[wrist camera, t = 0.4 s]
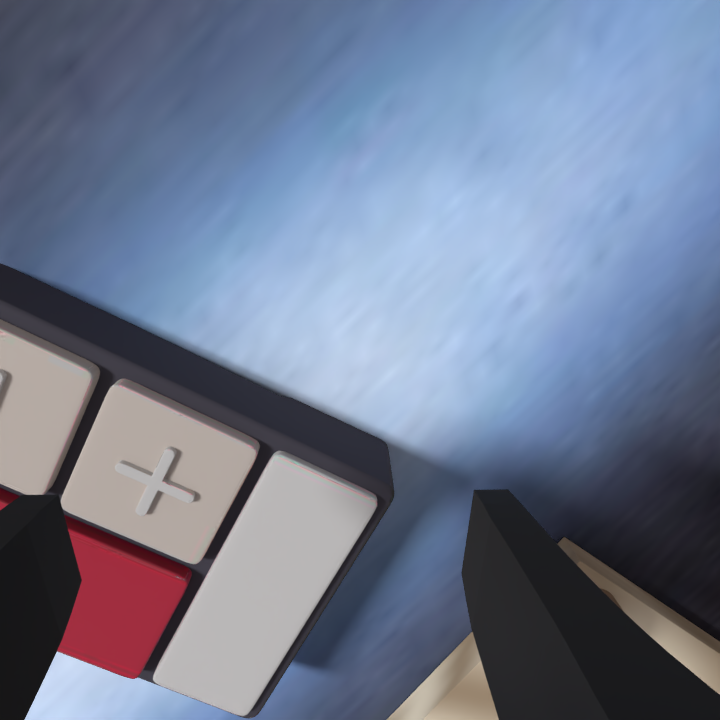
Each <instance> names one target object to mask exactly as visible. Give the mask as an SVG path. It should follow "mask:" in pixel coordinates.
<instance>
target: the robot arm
mask: <svg viewBox="0 0 720 720" xmlns="http://www.w3.org/2000/svg"><path fill="white" fill-rule="evenodd" d="M462 578H463V584H464V590H465V596H466V602H467V607H468V612H469V617H470V623H471V628H472V632H473V635H474V639H475V642H476V645H477V649H478V652H479V656H480V659H481V662H482V666H483V669H484V672H485V676H486V679H487V682H488V686H489V689H490V692H491V695H492V699H493V702H494V705H495V709H496V712H497V715H498V718H499V720H720V694H718V693H717V692H716V691H715V690H713V689H712V688H711V687H710V686H708V685H707V684H706V683H705V682H704V681H702V680H701V679H700V678H699V677H698V676H696V675H695V674H694V673H693V672H692V671H690V670H689V669H688V668H687V667H686V666H684V665H683V664H682V663H681V662H679V661H678V660H677V659H676V658H675V657H673V656H672V655H671V654H670V653H669V652H667V651H666V650H665V649H664V648H663V647H662V646H661V645H659V644H658V643H657V642H656V641H655V640H654V639H653V638H652V637H650V636H649V635H648V634H647V633H646V632H645V631H644V630H643V629H642V628H641V627H640V626H638V625H637V624H636V623H635V622H634V621H633V620H632V619H631V618H630V617H629V616H628V615H627V614H626V613H625V612H623V611H622V610H621V609H620V608H619V607H618V606H617V605H616V604H615V603H614V602H613V601H612V600H611V599H610V598H609V597H608V596H607V595H606V594H605V593H604V592H603V591H602V590H601V589H600V588H599V587H598V586H597V585H596V584H595V583H594V582H593V581H592V580H591V579H590V578H589V577H588V576H587V575H586V574H585V573H584V572H583V571H582V570H581V569H580V568H579V567H578V566H577V564H576V563H575V562H574V561H573V560H572V559H571V558H570V557H569V556H568V555H567V554H566V553H565V552H564V551H563V550H562V549H561V548H560V546H559V545H558V544H557V543H556V542H555V541H554V540H553V539H552V538H551V537H550V535H549V534H548V533H547V532H546V531H545V530H544V529H543V528H542V527H541V526H540V524H539V523H538V522H537V521H536V520H535V519H534V518H533V517H532V515H531V514H530V513H529V512H528V511H527V510H526V509H525V508H524V507H523V505H522V504H521V503H520V502H519V501H518V500H517V499H516V498H515V497H514V496H513V494H512V493H511V492H510V491H509V490H474V494H473V501H472V507H471V514H470V521H469V527H468V534H467V540H466V547H465V554H464V560H463V567H462ZM81 582H82V579H81V575H80V571H79V568H78V564H77V560H76V557H75V553H74V549H73V546H72V542H71V538H70V535H69V531H68V527H67V524H66V520H65V516H64V513H63V509H62V505H61V502H60V498H59V494H55V495H21V496H20V497H18V498H17V499H15V500H14V501H13V502H11V503H10V504H8V505H7V506H6V507H4V508H3V509H1V510H0V720H24V719H25V717H26V715H27V713H28V711H29V709H30V707H31V705H32V703H33V701H34V699H35V696H36V694H37V692H38V690H39V688H40V686H41V684H42V682H43V680H44V678H45V675H46V673H47V671H48V669H49V667H50V665H51V663H52V661H53V658H54V656H55V654H56V652H57V650H58V648H59V645H60V643H61V641H62V639H63V636H64V633H65V630H66V627H67V624H68V622H69V619H70V616H71V613H72V610H73V607H74V604H75V601H76V597H77V594H78V591H79V588H80V585H81Z"/></svg>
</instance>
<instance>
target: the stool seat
mask: <svg viewBox="0 0 720 720" xmlns="http://www.w3.org/2000/svg"><path fill="white" fill-rule="evenodd" d="M558 545H559V546H560V548H561V549H562V550H563V551H564V552H565V553H566V554H567V555H568V556H569V557H570V558H571V559H572V560H573V561H574V562H575V563H576V564H577V566H578V567H579V568H580V569H581V570H582V571H583V572H584V573H585V574H586V575H587V576H588V577H589V578H590V579H591V580H592V581H593V582H594V583H595V584H596V585H597V586H598V587H599V588H600V589H601V590H602V591H603V592H604V593H605V594H606V595H607V596H608V597H609V598H610V599H611V600H612V601H613V602H614V603H615V604H616V605H617V606H618V607H619V608H620V609H621V610H622V611H623V612H625V613H626V614H627V615H628V616H629V617H630V618H631V619H632V620H633V621H634V622H635V623H636V624H637V625H638V626H640V627H641V628H642V629H643V630H644V631H645V632H646V633H647V634H648V635H649V636H650V637H652V638H653V639H654V640H655V641H656V642H657V643H658V644H659V645H661V646H662V647H663V648H664V649H665V650H666V651H667V652H669V653H670V654H671V655H672V656H673V657H675V658H676V659H677V660H678V661H679V662H681V663H682V664H683V665H684V666H686V667H687V668H688V669H689V670H690V671H692V672H693V673H694V674H695V675H696V676H698V677H699V678H700V679H701V680H702V681H704V682H705V683H706V684H707V685H708V686H710V687H711V688H712V689H713V690H715V691H716V692H717V693H718V694H720V642H719V641H718V640H716V639H715V638H714V637H712V636H711V635H709V634H708V633H706V632H705V631H703V630H702V629H700V628H699V627H697V626H696V625H694V624H693V623H691V622H690V621H688V620H687V619H685V618H684V617H682V616H681V615H679V614H678V613H676V612H675V611H673V610H672V609H671V608H669V607H668V606H666V605H665V604H663V603H662V602H660V601H659V600H657V599H656V598H654V597H653V596H651V595H650V594H648V593H647V592H645V591H644V590H642V589H641V588H639V587H638V586H636V585H635V584H633V583H632V582H630V581H629V580H628V579H626V578H625V577H623V576H622V575H620V574H619V573H617V572H616V571H614V570H613V569H611V568H610V567H608V566H607V565H605V564H604V563H602V562H601V561H599V560H598V559H596V558H595V557H593V556H592V555H590V554H589V553H588V552H586V551H585V550H583V549H582V548H580V547H579V546H577V545H576V544H574V543H573V542H571V541H570V540H568V539H567V538H565V537H563V538H562V539H561V541H560V542H559V543H558ZM387 720H499V718H498V715H497V712H496V709H495V705H494V702H493V699H492V695H491V692H490V689H489V686H488V682H487V679H486V676H485V672H484V669H483V666H482V662H481V659H480V656H479V652H478V649H477V645H476V642H475V639H474V635H473V632H471V633H470V634H469V635H468V636H467V637H466V638H465V640H464V641H463V642H462V643H461V644H460V645H459V646H458V647H457V648H456V649H455V650H454V651H453V652H452V653H451V654H450V655H449V656H448V657H447V658H446V659H445V660H444V661H443V662H442V663H441V664H440V665H439V666H438V667H437V668H436V669H435V670H434V672H433V673H432V674H431V675H430V676H429V677H428V678H427V679H426V680H425V681H424V682H423V683H422V684H421V685H420V686H419V687H418V688H417V689H416V690H415V691H414V692H413V693H412V694H411V695H410V696H409V697H408V698H407V699H406V700H405V701H404V702H403V703H402V705H401V706H400V707H399V708H398V709H397V710H396V711H395V712H394V713H393V714H392V715H391V716H390V717H389V718H388V719H387Z"/></svg>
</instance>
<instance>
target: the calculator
mask: <svg viewBox="0 0 720 720" xmlns="http://www.w3.org/2000/svg"><path fill="white" fill-rule="evenodd" d="M55 494H59V498H60V502H61V505H62V509H63V513H64V516H65V520H66V524H67V527H68V531H69V535H70V538H71V542H72V546H73V549H74V553H75V557H76V560H77V564H78V568H79V571H80V575H81V579H82V582H81V585H80V588H79V591H78V594H77V597H76V601H75V604H74V607H73V610H72V613H71V616H70V619H69V622H68V624H67V627H66V630H65V633H64V636H63V639H62V641H61V643H60V645H59V648H58V650H57V651H58V652H60V653H63V654H66V655H68V656H71V657H74V658H76V659H79V660H81V661H84V662H87V663H89V664H92V665H95V666H97V667H100V668H102V669H105V670H108V671H110V672H113V673H116V674H118V675H121V676H124V677H127V678H131V679H135V678H137V677H138V678H141V679H144V680H146V681H149V682H151V683H154V684H157V685H159V686H162V687H164V688H167V689H170V690H172V691H175V692H178V693H180V694H183V695H185V696H188V697H191V698H193V699H196V700H198V701H201V702H204V703H206V704H209V705H212V706H214V707H217V708H219V709H222V710H225V711H227V712H230V713H232V714H235V715H238V716H240V717H243V718H252V717H255V716H256V715H258V713H259V712H260V711H261V709H262V708H263V706H264V705H265V703H266V701H267V700H268V698H269V697H270V695H271V693H272V692H273V690H274V689H275V687H276V686H277V684H278V682H279V681H280V679H281V678H282V676H283V674H284V673H285V671H286V670H287V668H288V666H289V665H290V663H291V662H292V660H293V658H294V657H295V655H296V654H297V652H298V651H299V649H300V647H301V646H302V644H303V643H304V641H305V639H306V638H307V636H308V635H309V633H310V631H311V630H312V628H313V627H314V625H315V623H316V622H317V620H318V619H319V617H320V616H321V614H322V612H323V611H324V609H325V608H326V606H327V604H328V603H329V601H330V600H331V598H332V596H333V595H334V593H335V592H336V590H337V588H338V587H339V585H340V584H341V582H342V580H343V579H344V577H345V576H346V574H347V573H348V571H349V569H350V568H351V566H352V565H353V563H354V561H355V560H356V558H357V557H358V555H359V553H360V552H361V550H362V549H363V547H364V545H365V544H366V542H367V541H368V539H369V538H370V536H371V534H372V533H373V531H374V530H375V528H376V526H377V525H378V523H379V522H380V520H381V518H382V517H383V515H384V514H385V512H386V510H387V509H388V507H389V506H390V504H391V502H392V500H393V498H394V486H393V479H392V472H391V465H390V458H389V452H388V447H387V444H386V443H385V442H384V441H382V440H380V439H379V438H377V437H374V436H372V435H370V434H368V433H366V432H364V431H362V430H359V429H357V428H355V427H353V426H351V425H349V424H346V423H344V422H342V421H340V420H338V419H336V418H334V417H331V416H329V415H327V414H325V413H323V412H321V411H318V410H316V409H314V408H312V407H310V406H308V405H306V404H303V403H301V402H299V401H297V400H294V399H292V398H288V397H283V396H279V395H277V394H275V393H273V392H271V391H268V390H266V389H264V388H262V387H260V386H258V385H256V384H254V383H252V382H250V381H248V380H246V379H244V378H242V377H240V376H238V375H236V374H233V373H231V372H229V371H227V370H225V369H223V368H221V367H219V366H217V365H215V364H213V363H211V362H209V361H207V360H205V359H203V358H201V357H198V356H196V355H194V354H192V353H190V352H188V351H186V350H184V349H182V348H180V347H178V346H176V345H174V344H172V343H170V342H168V341H166V340H163V339H161V338H159V337H157V336H155V335H153V334H151V333H149V332H147V331H145V330H143V329H141V328H139V327H137V326H135V325H133V324H130V323H128V322H126V321H124V320H122V319H120V318H118V317H115V316H113V315H111V314H109V313H107V312H105V311H103V310H100V309H98V308H96V307H94V306H92V305H90V304H88V303H85V302H83V301H81V300H79V299H77V298H75V297H73V296H70V295H68V294H66V293H64V292H62V291H60V290H58V289H55V288H53V287H51V286H49V285H47V284H45V283H42V282H40V281H38V280H36V279H34V278H32V277H30V276H27V275H25V274H23V273H21V272H19V271H17V270H14V269H12V268H10V267H8V266H6V265H3V264H0V510H1V509H3V508H4V507H6V506H7V505H8V504H10V503H11V502H13V501H14V500H15V499H17V498H18V497H20V496H21V495H55Z"/></svg>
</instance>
